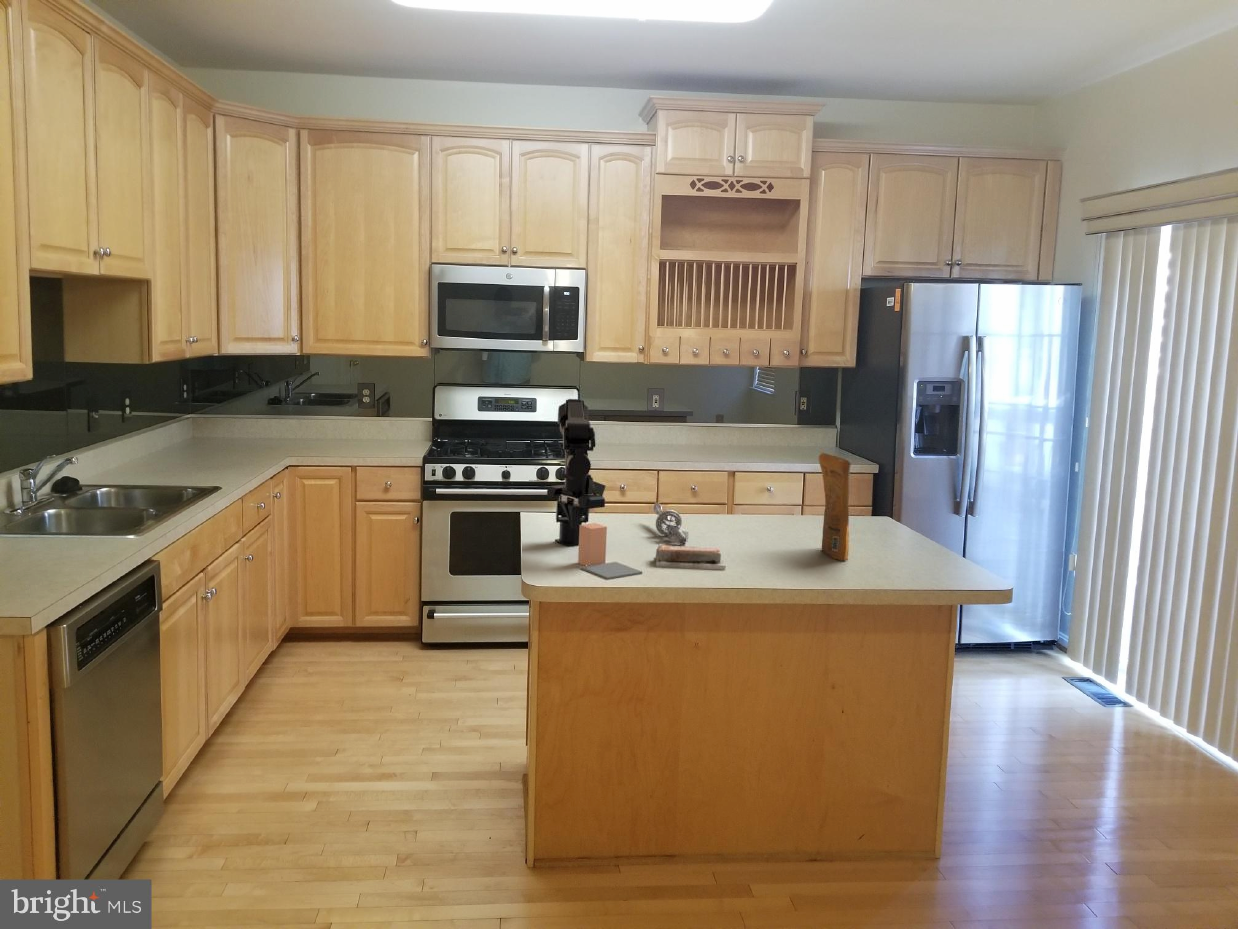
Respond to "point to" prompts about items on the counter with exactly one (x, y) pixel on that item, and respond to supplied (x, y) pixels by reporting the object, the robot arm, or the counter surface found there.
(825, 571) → the counter surface
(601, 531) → the terracotta block
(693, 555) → the packaged product
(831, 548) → the pancake mix bag
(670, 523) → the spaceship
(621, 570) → the gray square plate
